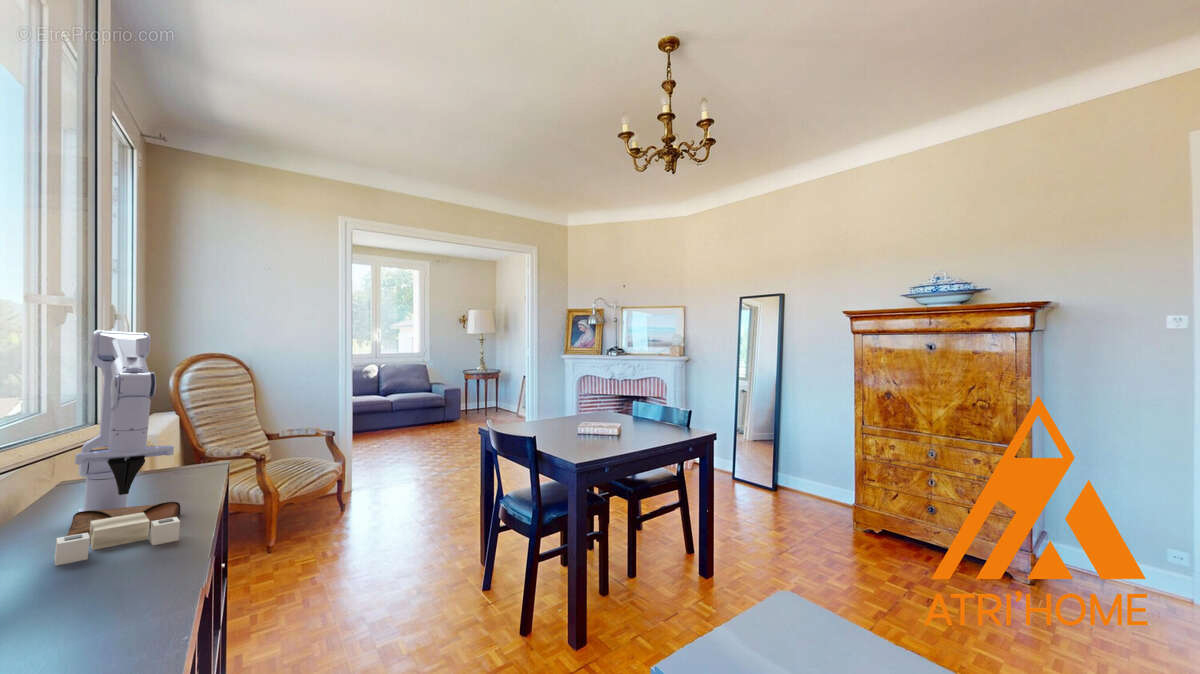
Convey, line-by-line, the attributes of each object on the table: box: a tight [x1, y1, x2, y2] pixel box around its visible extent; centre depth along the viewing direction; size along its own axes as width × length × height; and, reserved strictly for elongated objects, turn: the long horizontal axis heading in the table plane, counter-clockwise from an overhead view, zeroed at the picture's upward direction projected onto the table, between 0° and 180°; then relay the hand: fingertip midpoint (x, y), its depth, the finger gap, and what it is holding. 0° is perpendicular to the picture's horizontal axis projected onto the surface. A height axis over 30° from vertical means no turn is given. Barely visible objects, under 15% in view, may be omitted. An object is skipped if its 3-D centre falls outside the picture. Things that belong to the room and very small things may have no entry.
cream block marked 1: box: [53, 533, 90, 567], centre depth 88 cm, size 4×4×4 cm
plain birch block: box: [89, 512, 150, 551], centre depth 97 cm, size 8×8×4 cm
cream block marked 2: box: [149, 517, 181, 546], centre depth 98 cm, size 4×4×4 cm
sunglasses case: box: [66, 501, 181, 536], centre depth 105 cm, size 18×7×7 cm
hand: (123, 493), depth 98 cm, fingers closed
